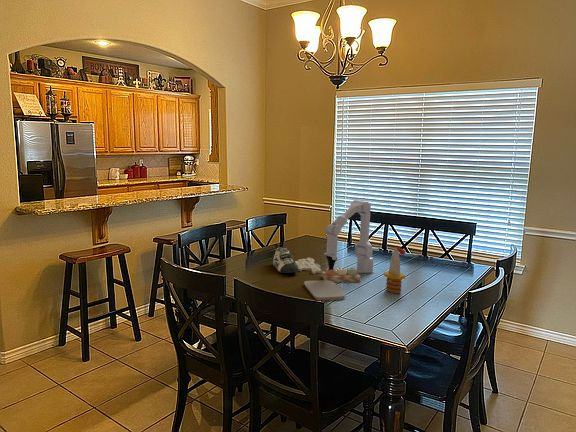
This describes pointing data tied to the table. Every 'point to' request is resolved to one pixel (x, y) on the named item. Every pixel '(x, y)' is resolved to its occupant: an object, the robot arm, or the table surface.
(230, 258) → the table surface
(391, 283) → the toy
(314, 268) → the decorative sign
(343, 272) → the cream studded block
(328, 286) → the tablet
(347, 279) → the button board
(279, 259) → the training shoe
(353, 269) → the button
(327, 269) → the button
